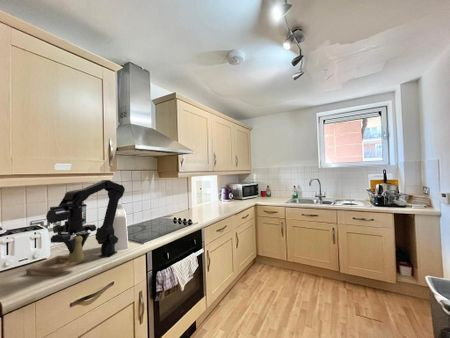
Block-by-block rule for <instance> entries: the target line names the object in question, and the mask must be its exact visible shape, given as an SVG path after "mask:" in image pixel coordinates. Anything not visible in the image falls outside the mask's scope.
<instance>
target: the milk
mask: <svg viewBox="0 0 450 338" xmlns="http://www.w3.org/2000/svg"><path fill="white" fill-rule="evenodd" d="M113 228H114V235H115V236H116V237H117V238H118V242H117V243H116V244H115V251H118V250H125V249H129V238H128V236H129V235H128V234H129V233H128V221H127V213H126V210H125V208H124V206H123V204H122V203H118V205H117V210H116V214H115V218H114V222H113Z"/></svg>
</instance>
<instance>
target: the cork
mask: <svg viewBox="0 0 450 338" xmlns="http://www.w3.org/2000/svg"><path fill="white" fill-rule="evenodd" d="M73 238H76V241H75V246H74V251H73V253H70V252H69V251H68V252H69V253H68V256H69V260H68V262H69V263H74V262H78V261H81V260H84V259H85V254H84V250H83V248H82V243H81V242H82V240H83V238H82V236H76V235H74V236H73Z"/></svg>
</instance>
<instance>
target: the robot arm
mask: <svg viewBox="0 0 450 338" xmlns="http://www.w3.org/2000/svg"><path fill="white" fill-rule="evenodd" d="M103 190H104V191H106V192H107V196H108V203H107V206H106V210H105V214H104V218H103V222H102V225H100V227H97V226H96V225H95V224H84V222H85V221H86V219H85V218H83V217H84V216H83V214H84V213H83V208H85V207H88V206H87V204H86V203H84V202H85V201H86V200H88V198H89V197H90V196H92V195H95V194H96V193H98V192H101V191H103ZM124 193H125V186H124V185H122V184H119V183H116V182H114V181H112V180H109V179H103V180H100V181H98V182H95V183H93V184H91V185H89V186H86V187H84V188H80V189H75V190H68V191H67V192H65V193H64V196H63V198H62V200H61V201H60V203H59V204H58V206H50V207H49V210H48V211H47V213H46V215H45V216H46V217H45V219H46V221H47V222H48V223H49V224H55V223H59V222H63V221H64V224H63V225H60V224H57V225H54V226H53V227H52V232H53V235H51V237H50V243H57V244H58V243H63V244H64V245H65V246H66V248H67V250H68V252H70V253H73V251H74V246H75V241H76V238H73V236H82V238H83V240H82V242H81V243H82V249H83V247H84V245H85V244H86V241H87V239H88V237H90V235H91V234H92V232H94V231H96V232H95V234H94V236H95V240H96V241H97V244H98V245H101V248H100V254H99V256H98V257H100V258H101V257H104V258H105V257H106V258H107V257H108V258H109V257H112V256H114V255H115V254H116V253H118V250H115V244H116V243H117V242H118V238H117V237H116V236H115V235H114V228H113V222H114V218H115V214H116V210H117V205H118V204H119V201H120V199H121V198H123V196H124ZM89 231H90V232H89Z"/></svg>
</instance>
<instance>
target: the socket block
mask: <svg viewBox="0 0 450 338" xmlns="http://www.w3.org/2000/svg"><path fill="white" fill-rule="evenodd" d="M68 260H69V255H56V256H54V257H51V258H49V259H47V260H44V261H42V262H40V263H38V264H35V265H33V266H31V267H29V268H26V269H25V275H26V276H42V277H43V276H44V277H56V276H58V275H59V274H61V273H64V272H65V271H68V270H69V269H71V268H73V267H75V266H77V265H79V264H81V263H82V262H84V259H83V260H81V261H78V262H74V263H69V262H68ZM59 263H62V264H60V265H57V266H56V267H52V266H54V265H56V264H59Z"/></svg>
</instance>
